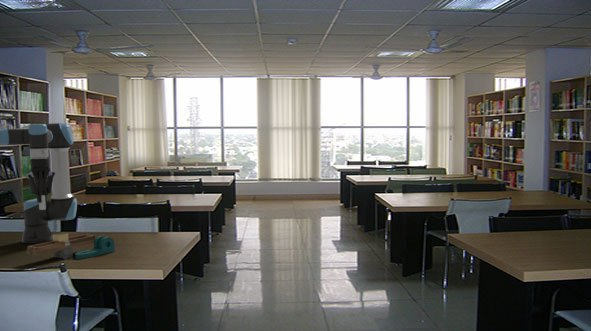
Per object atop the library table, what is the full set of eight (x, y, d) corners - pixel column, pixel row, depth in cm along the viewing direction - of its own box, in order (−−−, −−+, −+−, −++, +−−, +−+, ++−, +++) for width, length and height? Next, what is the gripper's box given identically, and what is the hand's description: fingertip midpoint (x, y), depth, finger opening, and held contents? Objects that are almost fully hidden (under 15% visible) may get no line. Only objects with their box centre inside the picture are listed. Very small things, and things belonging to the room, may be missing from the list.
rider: (53, 245, 231) (52, 234, 231) (63, 243, 235) (62, 232, 235) (58, 246, 229) (58, 235, 228) (68, 244, 233) (68, 233, 233)
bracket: (106, 250, 246) (105, 234, 245) (114, 251, 242) (113, 236, 241) (72, 258, 231) (71, 241, 231) (80, 260, 227) (79, 243, 227)
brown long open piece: (26, 263, 223) (25, 246, 222) (85, 249, 248) (84, 234, 248) (38, 265, 218) (37, 248, 217) (96, 251, 243) (95, 235, 243)
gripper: (30, 159, 215) (33, 212, 217) (57, 157, 226) (60, 207, 228) (20, 158, 219) (23, 211, 221) (48, 157, 230) (51, 206, 232)
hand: (42, 209), depth 224 cm, fingers closed
